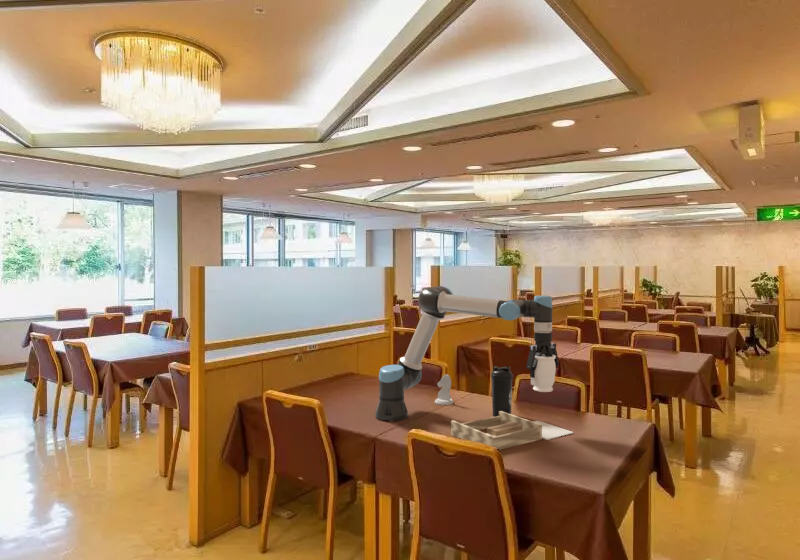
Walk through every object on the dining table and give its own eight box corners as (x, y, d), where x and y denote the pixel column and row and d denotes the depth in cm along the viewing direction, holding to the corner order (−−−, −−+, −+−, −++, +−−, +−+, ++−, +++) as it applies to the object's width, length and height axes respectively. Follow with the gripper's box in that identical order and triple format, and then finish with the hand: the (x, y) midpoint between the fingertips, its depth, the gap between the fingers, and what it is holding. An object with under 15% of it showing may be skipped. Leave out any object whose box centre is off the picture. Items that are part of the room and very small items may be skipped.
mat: (512, 427, 230) (512, 426, 230) (537, 421, 238) (537, 420, 238) (547, 440, 213) (547, 438, 213) (573, 433, 221) (573, 432, 221)
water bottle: (512, 419, 242) (513, 369, 241) (490, 417, 244) (490, 368, 243) (512, 413, 252) (512, 365, 251) (491, 412, 254) (491, 364, 253)
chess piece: (441, 399, 278) (442, 371, 278) (457, 402, 272) (457, 373, 271) (430, 403, 270) (430, 374, 270) (446, 406, 264) (446, 376, 264)
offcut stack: (482, 443, 209) (482, 428, 209) (514, 435, 220) (514, 421, 220) (493, 447, 205) (493, 432, 204) (525, 439, 215) (525, 424, 215)
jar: (527, 387, 230) (527, 353, 229) (550, 387, 231) (550, 353, 230) (535, 393, 219) (535, 357, 219) (559, 392, 220) (559, 357, 220)
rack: (450, 435, 219) (451, 420, 219) (500, 424, 234) (500, 410, 234) (490, 452, 199) (490, 436, 199) (541, 439, 214) (541, 424, 214)
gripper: (530, 334, 215) (530, 388, 216) (568, 330, 227) (567, 382, 228) (517, 332, 221) (517, 385, 222) (554, 329, 234) (554, 378, 234)
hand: (542, 383), depth 225 cm, fingers closed on jar, 10 cm apart
